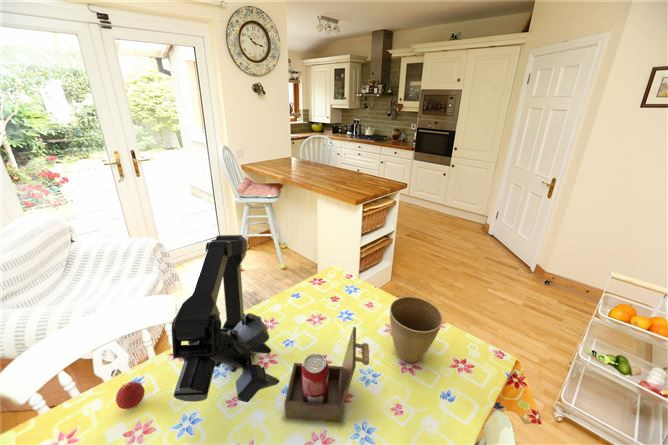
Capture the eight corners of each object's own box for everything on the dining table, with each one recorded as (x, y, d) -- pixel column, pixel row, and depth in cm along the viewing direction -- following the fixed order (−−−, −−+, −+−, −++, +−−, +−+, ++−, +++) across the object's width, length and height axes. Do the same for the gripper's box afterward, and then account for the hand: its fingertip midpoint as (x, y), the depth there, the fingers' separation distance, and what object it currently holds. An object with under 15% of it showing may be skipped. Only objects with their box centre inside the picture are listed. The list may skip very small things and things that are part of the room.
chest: (285, 417, 72) (284, 403, 70) (295, 376, 82) (294, 362, 80) (340, 422, 71) (341, 408, 69) (342, 379, 81) (343, 366, 79)
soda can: (325, 410, 73) (325, 377, 68) (299, 404, 74) (297, 371, 69) (331, 386, 79) (331, 354, 74) (307, 381, 80) (306, 349, 75)
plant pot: (414, 383, 81) (422, 340, 74) (375, 349, 91) (379, 309, 85) (443, 355, 89) (453, 315, 83) (404, 328, 100) (410, 290, 93)
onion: (142, 390, 78) (134, 368, 74) (151, 403, 74) (143, 382, 71) (117, 406, 74) (107, 384, 70) (125, 421, 70) (115, 399, 67)
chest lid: (352, 366, 63) (371, 370, 63) (353, 326, 73) (369, 330, 73) (339, 407, 68) (357, 410, 68) (342, 365, 79) (357, 368, 79)
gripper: (249, 351, 53) (308, 373, 61) (238, 291, 69) (286, 315, 77) (209, 395, 53) (273, 411, 62) (208, 326, 69) (259, 346, 77)
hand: (274, 366), depth 69 cm, fingers open, 9 cm apart
